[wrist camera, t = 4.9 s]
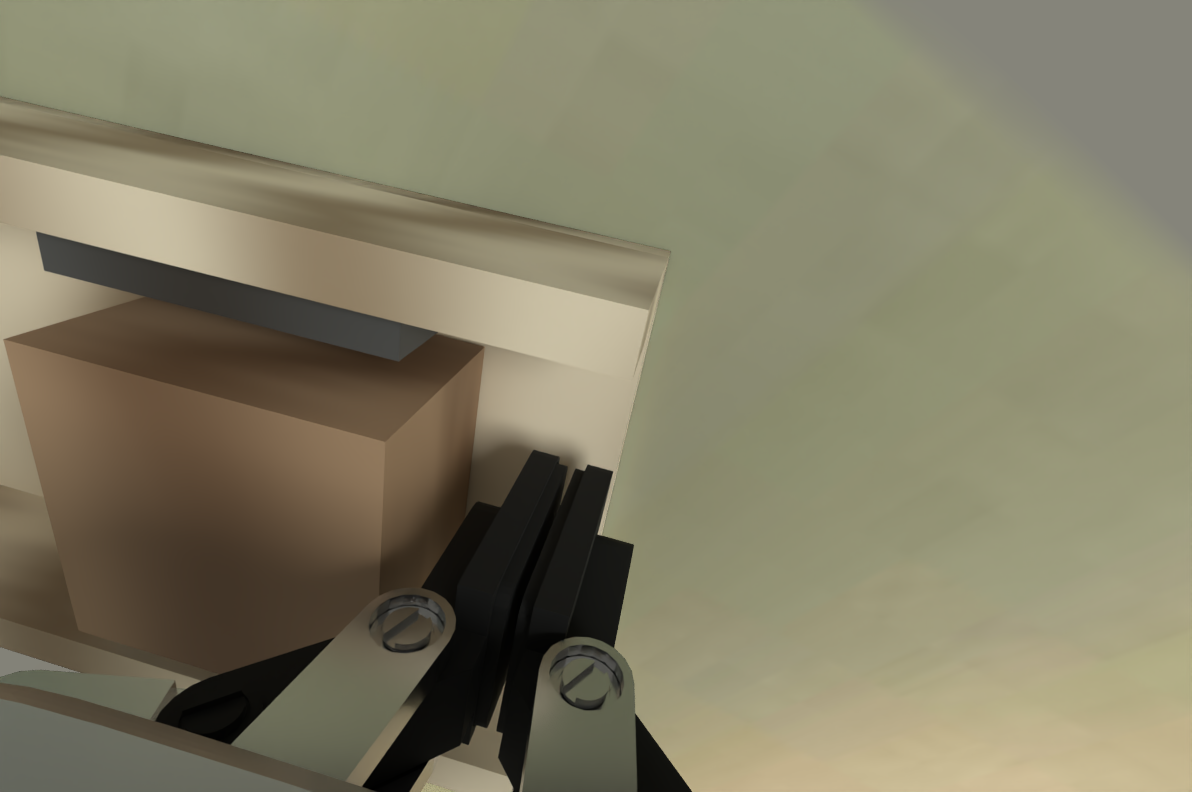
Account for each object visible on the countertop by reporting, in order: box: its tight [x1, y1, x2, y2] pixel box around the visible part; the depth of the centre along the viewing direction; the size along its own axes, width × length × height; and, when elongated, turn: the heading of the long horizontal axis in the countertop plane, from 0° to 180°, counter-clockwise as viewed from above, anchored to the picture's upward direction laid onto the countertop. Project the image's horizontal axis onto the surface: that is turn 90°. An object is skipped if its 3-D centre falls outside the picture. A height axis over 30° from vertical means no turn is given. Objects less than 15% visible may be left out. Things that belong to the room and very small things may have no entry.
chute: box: [0, 97, 671, 792], centre depth 13 cm, size 22×11×4 cm, turn 80°
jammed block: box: [3, 297, 485, 674], centre depth 12 cm, size 6×6×4 cm
